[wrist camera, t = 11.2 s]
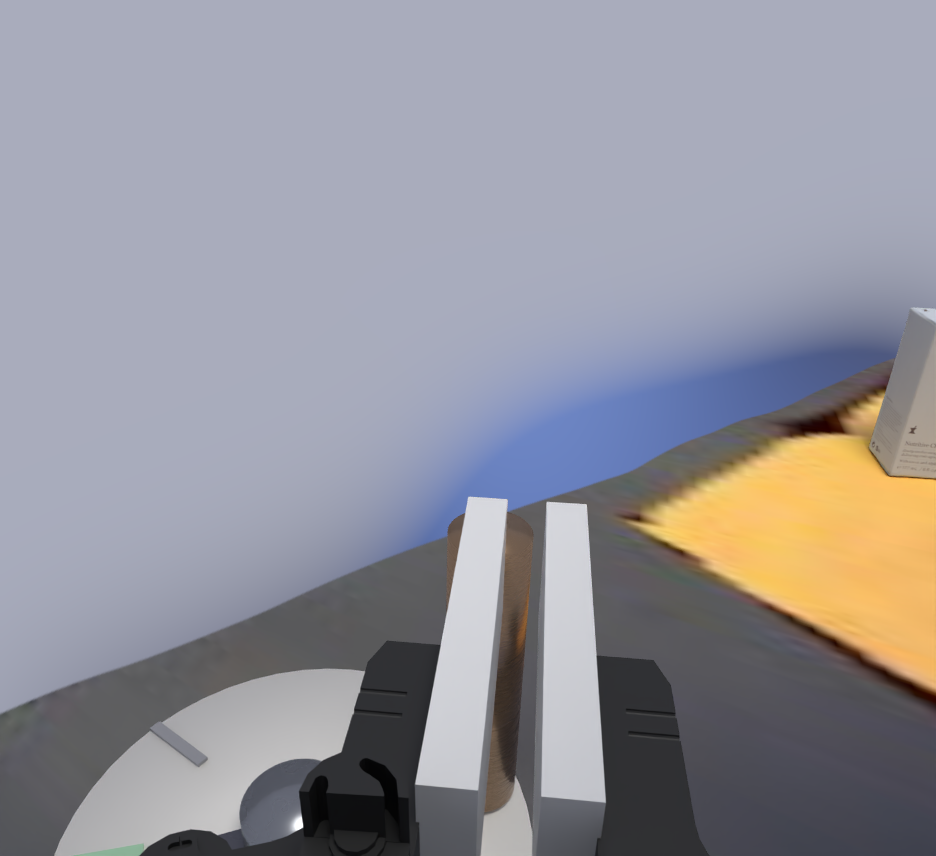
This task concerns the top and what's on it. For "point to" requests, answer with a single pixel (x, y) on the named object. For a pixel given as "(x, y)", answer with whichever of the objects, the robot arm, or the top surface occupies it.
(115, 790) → the round white plate
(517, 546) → the crank handle
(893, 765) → the top surface
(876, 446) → the skincare box
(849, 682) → the top surface
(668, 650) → the top surface
